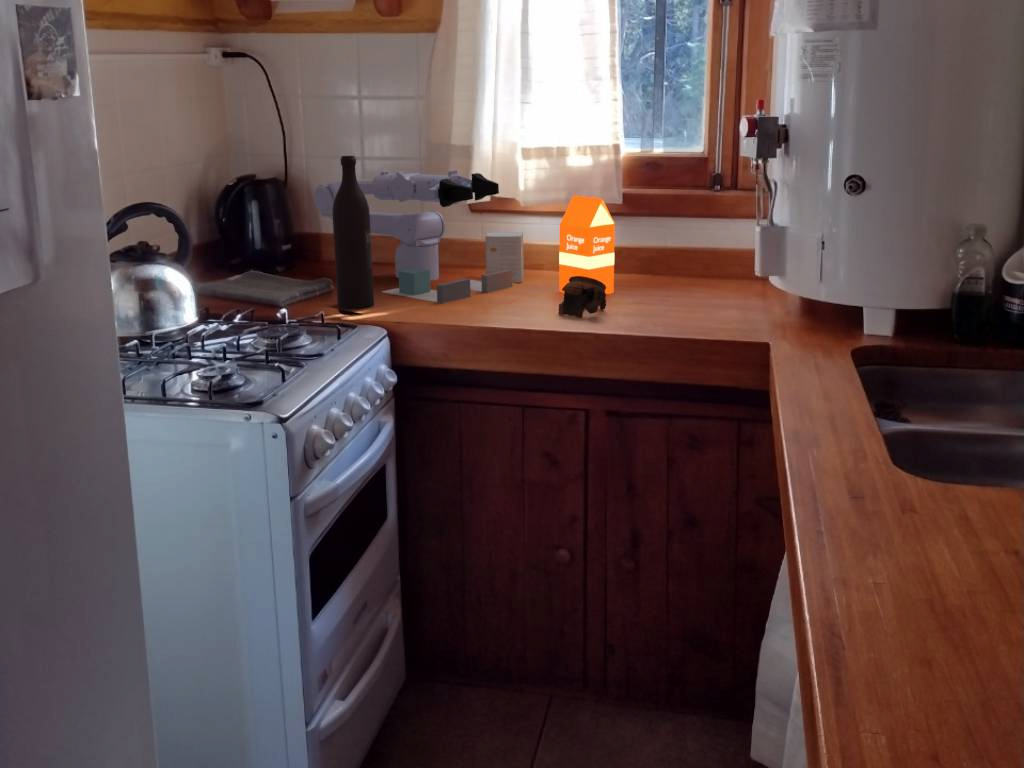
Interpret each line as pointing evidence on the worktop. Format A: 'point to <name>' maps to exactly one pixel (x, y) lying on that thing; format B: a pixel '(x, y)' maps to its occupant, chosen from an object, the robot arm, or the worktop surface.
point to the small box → (505, 253)
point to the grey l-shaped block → (493, 281)
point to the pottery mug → (582, 296)
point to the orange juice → (587, 242)
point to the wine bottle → (352, 243)
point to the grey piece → (442, 292)
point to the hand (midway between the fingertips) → (484, 191)
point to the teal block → (414, 281)
